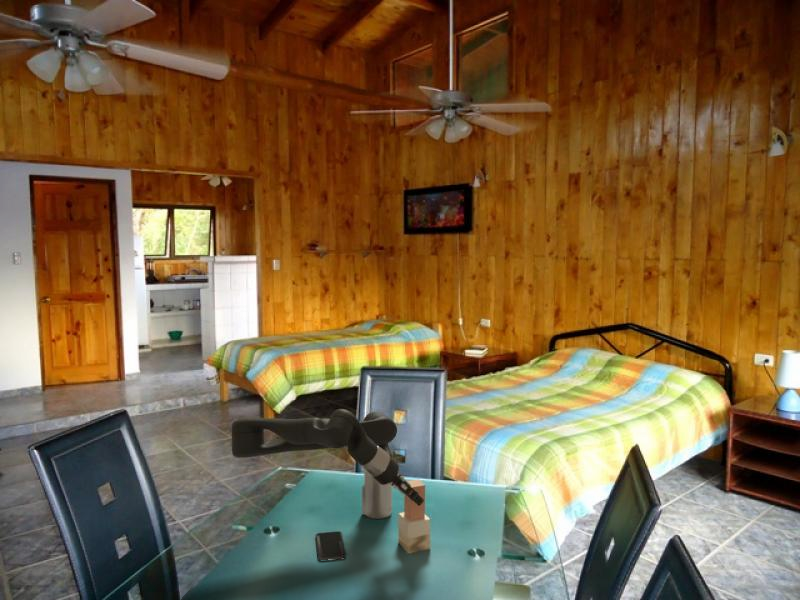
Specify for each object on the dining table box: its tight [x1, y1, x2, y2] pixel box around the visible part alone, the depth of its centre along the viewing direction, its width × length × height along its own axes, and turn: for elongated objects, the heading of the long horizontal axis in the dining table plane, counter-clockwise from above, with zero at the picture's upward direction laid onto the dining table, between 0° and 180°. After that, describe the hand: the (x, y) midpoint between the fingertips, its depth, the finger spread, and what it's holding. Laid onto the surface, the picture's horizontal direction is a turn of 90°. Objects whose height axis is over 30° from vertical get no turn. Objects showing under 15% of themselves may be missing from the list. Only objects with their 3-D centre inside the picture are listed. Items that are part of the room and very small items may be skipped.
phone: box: [315, 531, 347, 561], centre depth 167 cm, size 8×1×15 cm
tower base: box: [397, 528, 431, 554], centre depth 169 cm, size 7×7×4 cm
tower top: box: [397, 511, 431, 539], centre depth 168 cm, size 7×7×4 cm
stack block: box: [403, 479, 426, 521], centre depth 167 cm, size 4×4×10 cm
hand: (414, 497), depth 167 cm, fingers open, 8 cm apart
